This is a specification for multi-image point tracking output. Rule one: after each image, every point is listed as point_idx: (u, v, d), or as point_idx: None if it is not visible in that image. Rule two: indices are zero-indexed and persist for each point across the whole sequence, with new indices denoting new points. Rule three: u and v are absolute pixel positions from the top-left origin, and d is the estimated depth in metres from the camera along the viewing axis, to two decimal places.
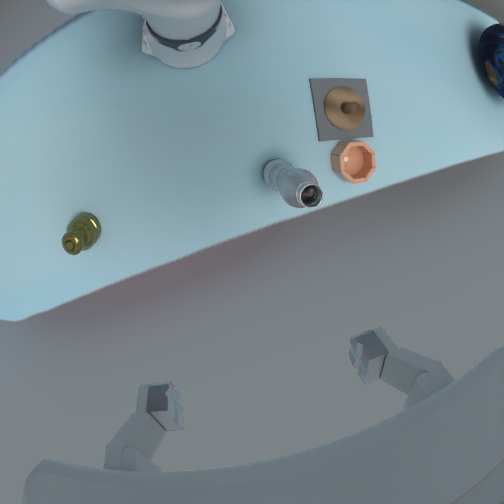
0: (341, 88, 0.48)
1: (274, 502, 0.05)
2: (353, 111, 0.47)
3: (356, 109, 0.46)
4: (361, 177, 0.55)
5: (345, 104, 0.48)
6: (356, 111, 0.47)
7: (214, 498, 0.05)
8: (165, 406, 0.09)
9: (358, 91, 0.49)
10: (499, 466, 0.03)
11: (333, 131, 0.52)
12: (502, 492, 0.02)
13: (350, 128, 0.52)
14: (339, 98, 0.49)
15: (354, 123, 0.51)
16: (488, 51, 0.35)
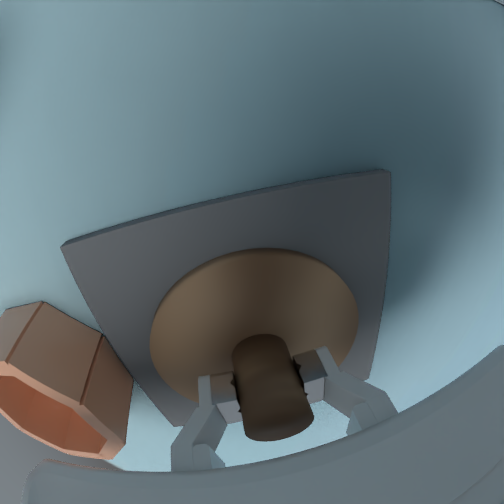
0: (352, 320, 0.12)
1: (274, 502, 0.05)
2: (254, 426, 0.08)
3: (269, 432, 0.08)
4: (19, 414, 0.09)
5: (283, 366, 0.10)
6: (256, 435, 0.08)
7: (214, 498, 0.05)
8: (232, 396, 0.09)
9: None
10: (499, 466, 0.03)
11: (126, 308, 0.11)
12: (502, 492, 0.02)
13: (168, 379, 0.12)
14: (306, 323, 0.12)
15: (197, 389, 0.12)
16: None
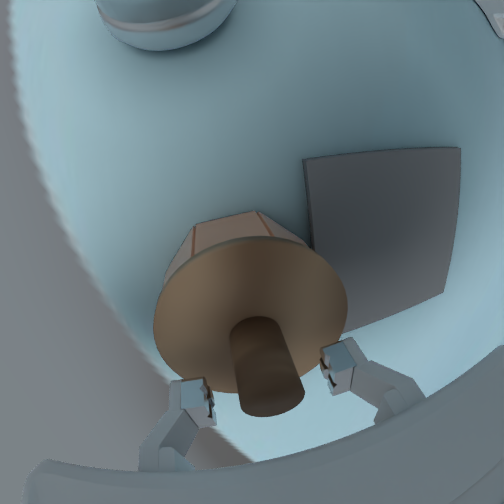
0: (341, 305, 0.13)
1: (274, 502, 0.05)
2: (249, 399, 0.09)
3: (263, 406, 0.10)
4: None
5: (276, 344, 0.11)
6: (250, 409, 0.10)
7: (214, 498, 0.05)
8: (201, 401, 0.09)
9: (427, 279, 0.20)
10: (499, 466, 0.03)
11: (339, 211, 0.16)
12: (502, 492, 0.02)
13: (170, 361, 0.13)
14: (298, 306, 0.13)
15: (196, 371, 0.14)
16: None
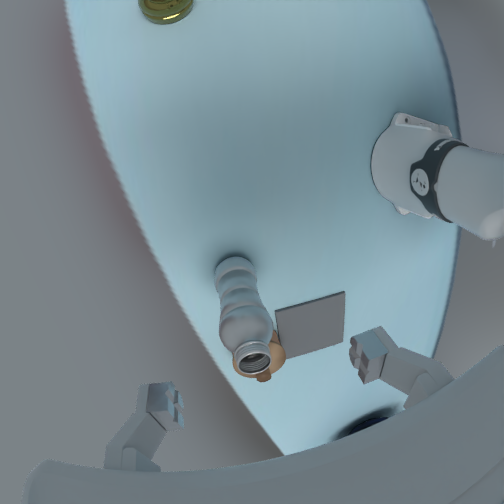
0: (283, 353, 0.48)
1: (274, 502, 0.05)
2: (258, 377, 0.44)
3: (261, 379, 0.44)
4: None
5: None
6: (259, 379, 0.44)
7: (214, 498, 0.05)
8: (165, 406, 0.09)
9: (330, 338, 0.55)
10: (499, 466, 0.03)
11: (287, 323, 0.51)
12: (502, 492, 0.02)
13: (235, 369, 0.47)
14: (271, 354, 0.47)
15: None
16: None
